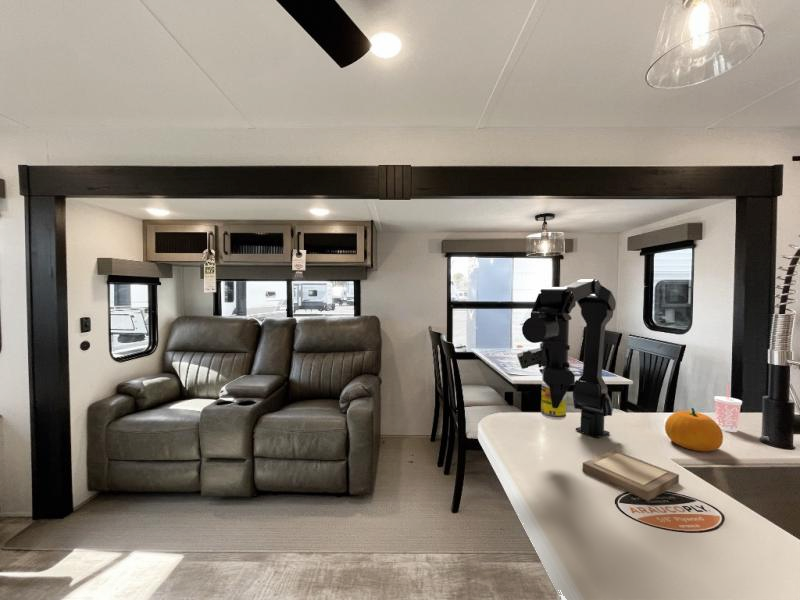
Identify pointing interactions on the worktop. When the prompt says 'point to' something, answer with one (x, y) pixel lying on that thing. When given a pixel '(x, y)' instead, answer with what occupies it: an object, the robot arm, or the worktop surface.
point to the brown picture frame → (631, 474)
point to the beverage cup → (727, 412)
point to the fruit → (694, 431)
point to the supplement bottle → (547, 405)
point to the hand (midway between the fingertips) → (553, 404)
